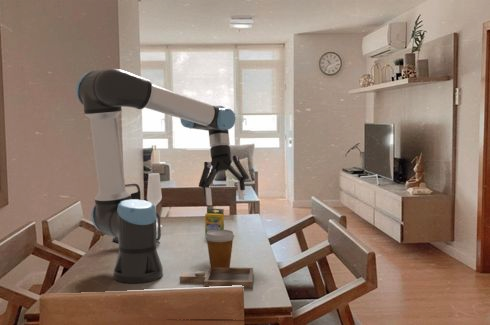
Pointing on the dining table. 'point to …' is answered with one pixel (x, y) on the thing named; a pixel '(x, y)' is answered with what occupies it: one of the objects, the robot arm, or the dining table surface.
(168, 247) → the dining table surface
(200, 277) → the tray
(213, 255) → the disposable coffee cup
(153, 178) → the champagne flute
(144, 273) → the robot arm
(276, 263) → the dining table surface
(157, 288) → the dining table surface
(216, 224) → the crayon box
